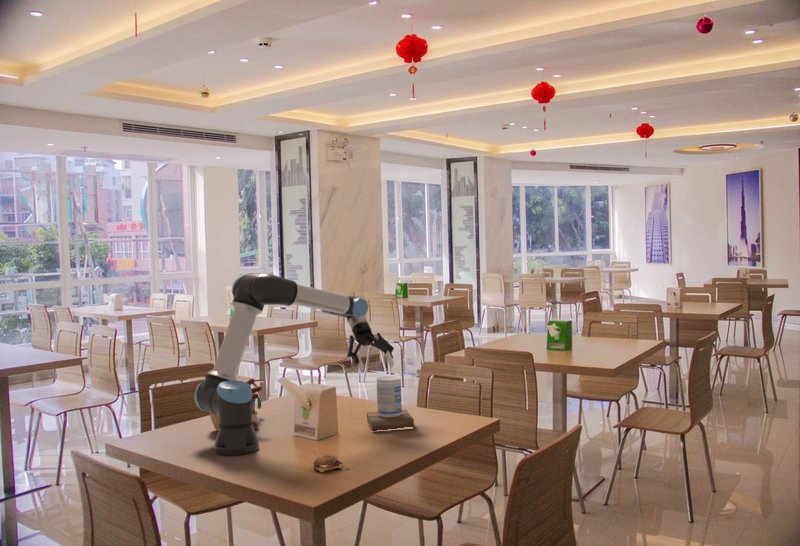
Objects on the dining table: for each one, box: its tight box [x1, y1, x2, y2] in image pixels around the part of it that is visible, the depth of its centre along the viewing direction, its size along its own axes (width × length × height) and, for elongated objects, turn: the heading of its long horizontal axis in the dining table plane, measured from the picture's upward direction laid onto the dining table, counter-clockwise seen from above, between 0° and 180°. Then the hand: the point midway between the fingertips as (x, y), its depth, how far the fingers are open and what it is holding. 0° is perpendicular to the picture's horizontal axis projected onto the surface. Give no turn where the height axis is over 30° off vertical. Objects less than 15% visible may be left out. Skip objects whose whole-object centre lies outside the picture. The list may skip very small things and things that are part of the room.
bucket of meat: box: [209, 378, 263, 431], centre depth 271 cm, size 20×16×20 cm
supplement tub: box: [376, 375, 403, 418], centre depth 269 cm, size 10×10×15 cm
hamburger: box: [312, 454, 348, 473], centre depth 218 cm, size 14×14×6 cm
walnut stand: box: [366, 409, 415, 432], centre depth 269 cm, size 16×16×4 cm
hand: (377, 367), depth 277 cm, fingers open, 13 cm apart
